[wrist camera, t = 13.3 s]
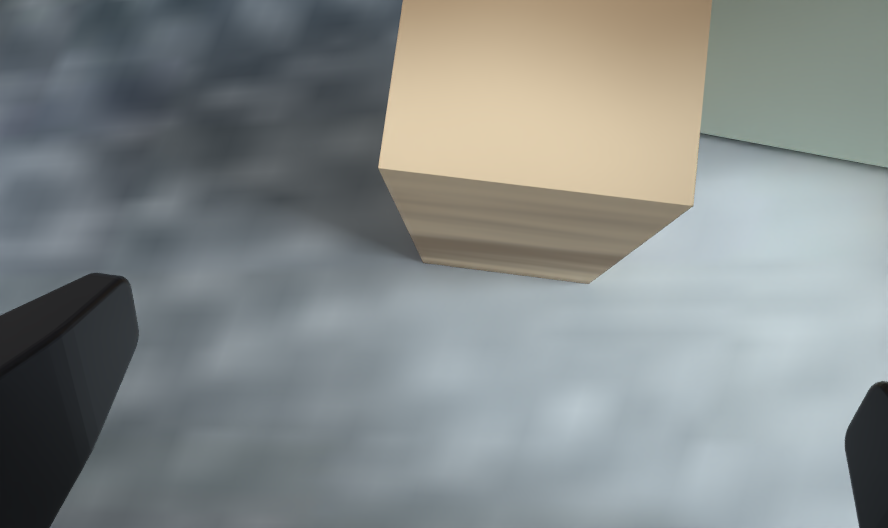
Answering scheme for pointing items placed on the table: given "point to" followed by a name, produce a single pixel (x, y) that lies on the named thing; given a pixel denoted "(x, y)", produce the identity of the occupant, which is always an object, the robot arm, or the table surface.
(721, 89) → the door
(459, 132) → the block
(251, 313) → the table surface
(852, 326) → the table surface
